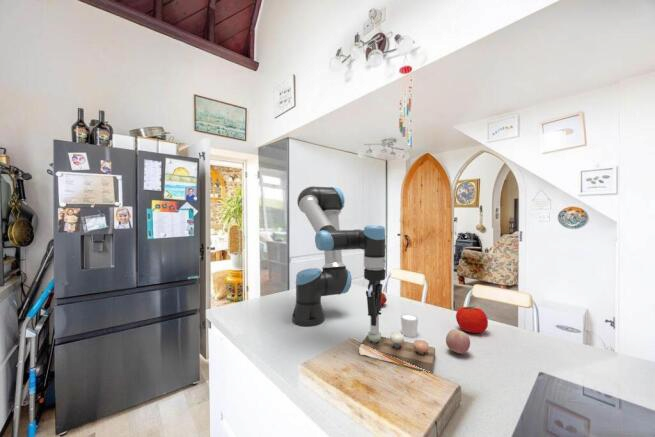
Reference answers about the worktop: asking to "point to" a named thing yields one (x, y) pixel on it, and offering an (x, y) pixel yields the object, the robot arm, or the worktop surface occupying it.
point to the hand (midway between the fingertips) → (374, 333)
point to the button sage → (374, 337)
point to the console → (404, 352)
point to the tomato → (472, 319)
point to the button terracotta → (421, 346)
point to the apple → (458, 341)
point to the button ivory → (397, 339)
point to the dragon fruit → (383, 299)
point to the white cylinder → (409, 325)
